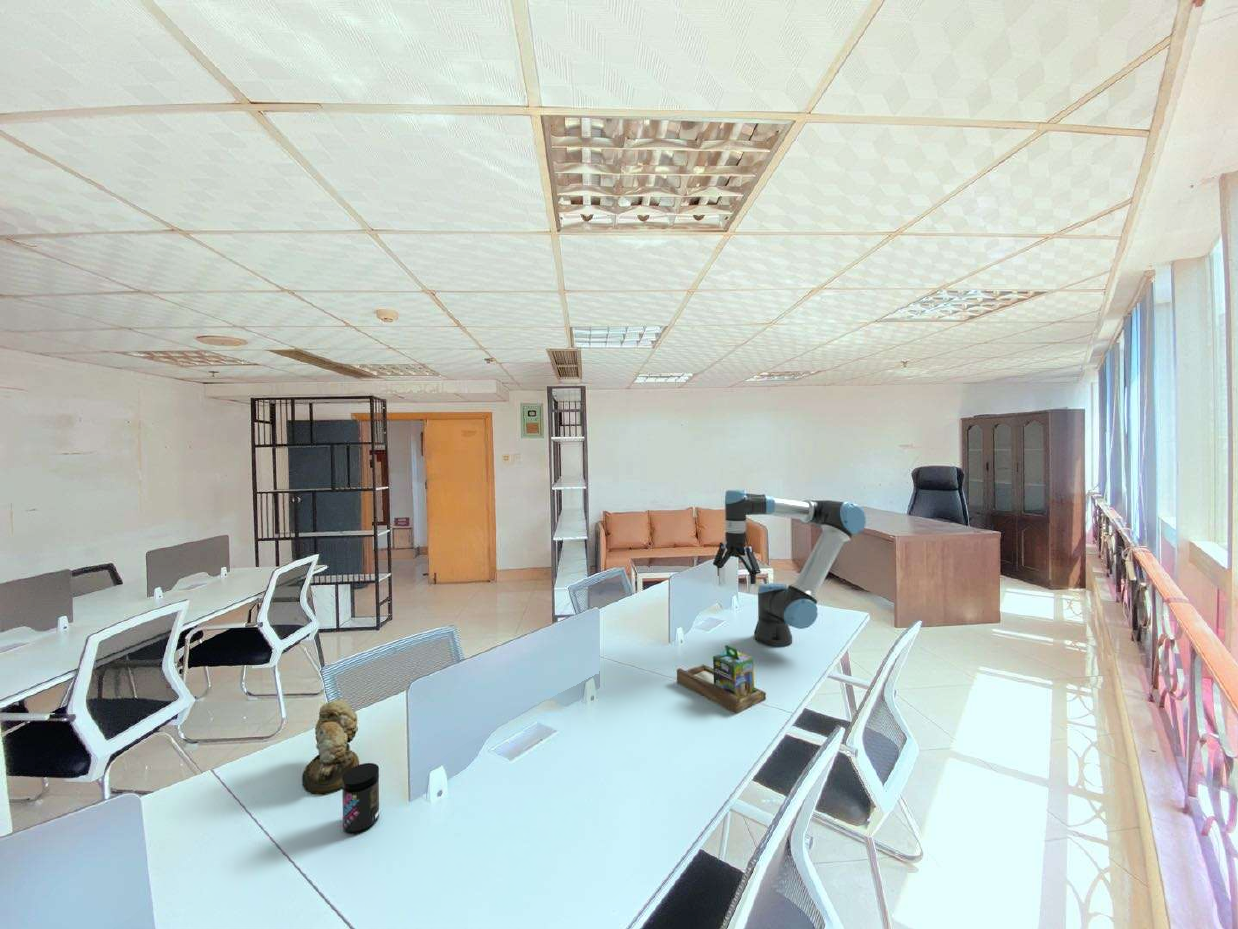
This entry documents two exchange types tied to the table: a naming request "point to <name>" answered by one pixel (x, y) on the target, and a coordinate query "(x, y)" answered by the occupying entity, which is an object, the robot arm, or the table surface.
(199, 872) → the table surface
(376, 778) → the supplement container
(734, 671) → the chalk box
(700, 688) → the brown wooden tray
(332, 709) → the tan statuette
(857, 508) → the robot arm
